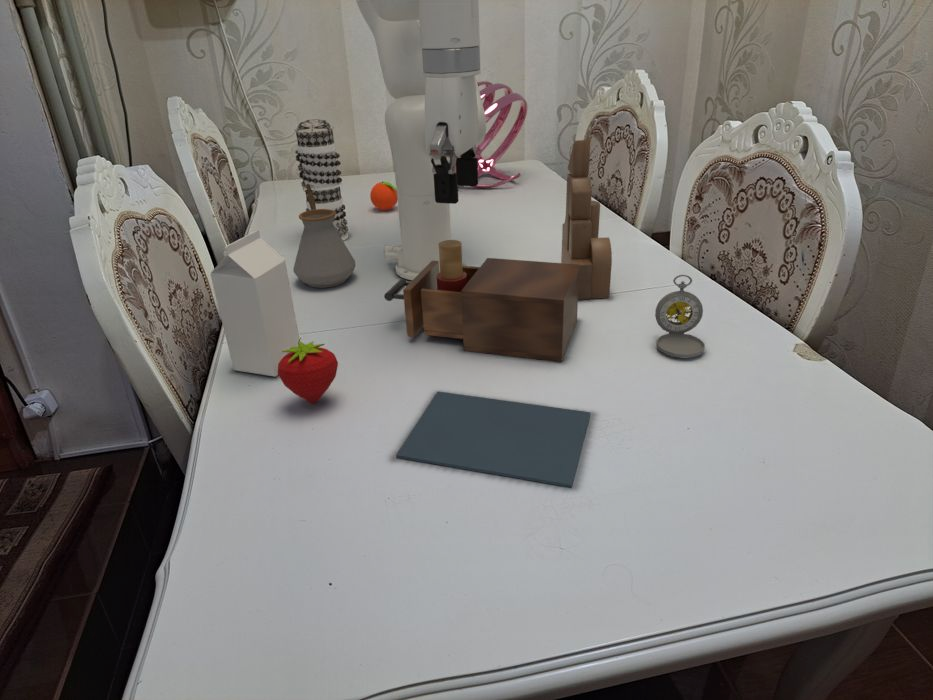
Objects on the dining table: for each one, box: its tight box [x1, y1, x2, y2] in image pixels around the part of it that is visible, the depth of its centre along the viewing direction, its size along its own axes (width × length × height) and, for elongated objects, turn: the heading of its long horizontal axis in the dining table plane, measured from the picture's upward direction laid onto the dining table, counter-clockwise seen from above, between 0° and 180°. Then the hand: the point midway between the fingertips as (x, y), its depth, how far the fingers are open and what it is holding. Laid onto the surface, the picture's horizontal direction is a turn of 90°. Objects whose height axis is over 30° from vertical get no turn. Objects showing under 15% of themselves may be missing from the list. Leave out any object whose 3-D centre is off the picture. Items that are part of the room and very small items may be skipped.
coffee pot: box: [292, 184, 356, 289], centre depth 123 cm, size 21×12×15 cm, turn 17°
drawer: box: [383, 261, 481, 340], centre depth 100 cm, size 18×12×8 cm
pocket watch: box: [654, 274, 706, 359], centre depth 92 cm, size 8×8×10 cm
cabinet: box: [461, 257, 580, 363], centre depth 97 cm, size 15×14×10 cm
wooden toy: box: [560, 139, 613, 301], centre depth 110 cm, size 16×7×25 cm, turn 1°
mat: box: [395, 391, 591, 488], centre depth 76 cm, size 20×14×1 cm
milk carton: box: [210, 229, 301, 378], centre depth 90 cm, size 7×7×19 cm
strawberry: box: [277, 337, 339, 404], centre depth 82 cm, size 6×8×10 cm
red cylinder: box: [437, 239, 467, 292], centre depth 98 cm, size 5×5×12 cm
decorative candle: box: [294, 118, 349, 241], centre depth 139 cm, size 9×9×25 cm
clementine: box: [369, 181, 398, 211], centre depth 161 cm, size 8×7×7 cm
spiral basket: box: [448, 80, 528, 189], centre depth 177 cm, size 28×28×27 cm
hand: (457, 193), depth 92 cm, fingers open, 9 cm apart
